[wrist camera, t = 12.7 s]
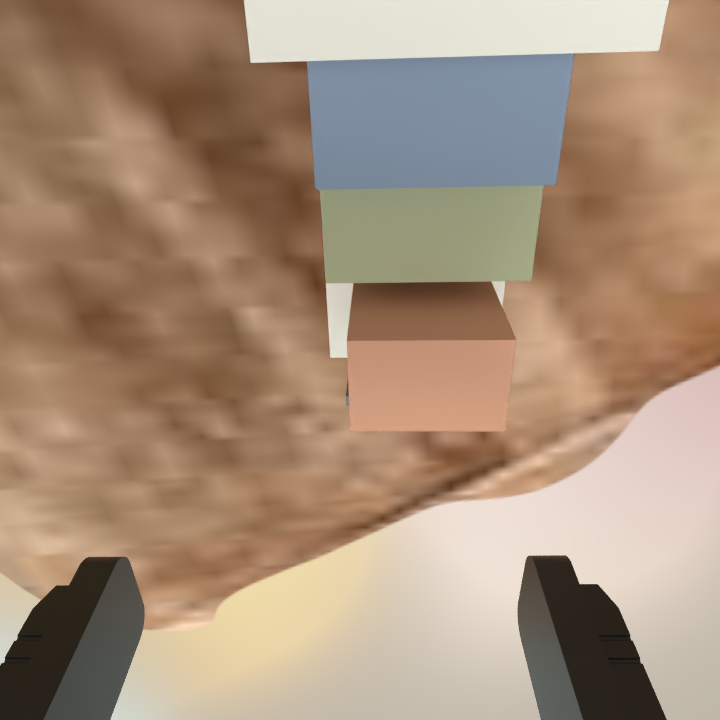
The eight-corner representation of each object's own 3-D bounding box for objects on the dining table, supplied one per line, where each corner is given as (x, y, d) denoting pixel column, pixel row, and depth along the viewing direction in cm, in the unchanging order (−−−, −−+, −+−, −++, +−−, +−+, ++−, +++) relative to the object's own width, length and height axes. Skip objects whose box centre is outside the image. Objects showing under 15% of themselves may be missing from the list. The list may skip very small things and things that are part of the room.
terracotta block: (360, 303, 33) (350, 430, 22) (359, 235, 31) (346, 340, 21) (466, 303, 33) (504, 431, 22) (471, 234, 31) (516, 340, 20)
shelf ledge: (332, 345, 36) (302, 533, 23) (312, 10, 27) (242, -9, 14) (493, 344, 36) (559, 535, 22) (527, 2, 27) (673, -24, 13)
